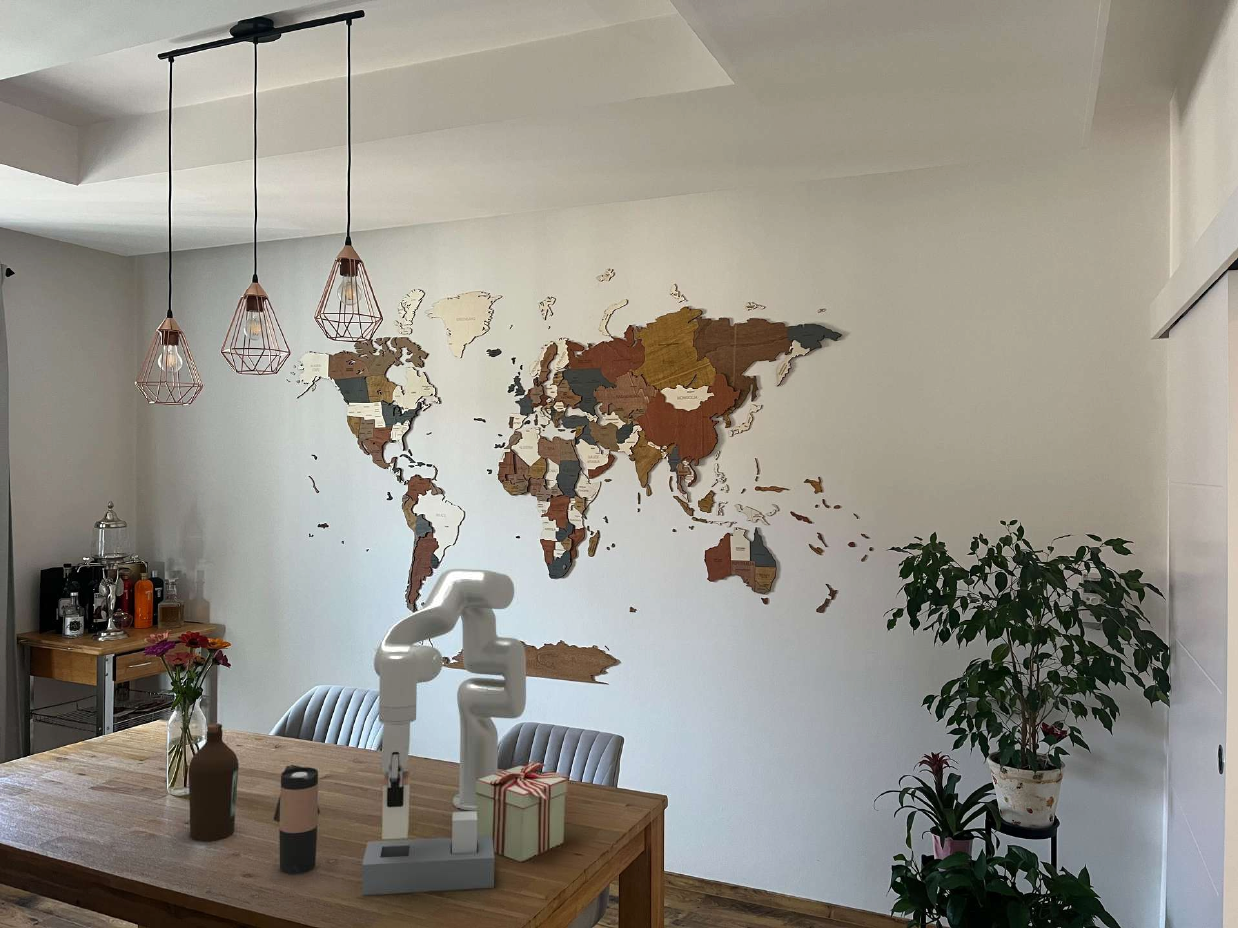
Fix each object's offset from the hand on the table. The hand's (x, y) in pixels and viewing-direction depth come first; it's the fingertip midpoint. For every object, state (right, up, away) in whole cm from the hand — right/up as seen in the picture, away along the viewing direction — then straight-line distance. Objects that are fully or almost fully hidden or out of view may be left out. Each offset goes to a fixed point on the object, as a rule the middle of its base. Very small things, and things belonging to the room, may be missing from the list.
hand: (395, 800), depth 193 cm
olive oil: (-48, -16, +23) cm, 56 cm away
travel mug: (-22, -16, +6) cm, 28 cm away
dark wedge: (-32, -17, +35) cm, 51 cm away
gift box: (+25, -17, +20) cm, 36 cm away
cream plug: (0, -7, 0) cm, 7 cm away
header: (+7, -17, +1) cm, 18 cm away
